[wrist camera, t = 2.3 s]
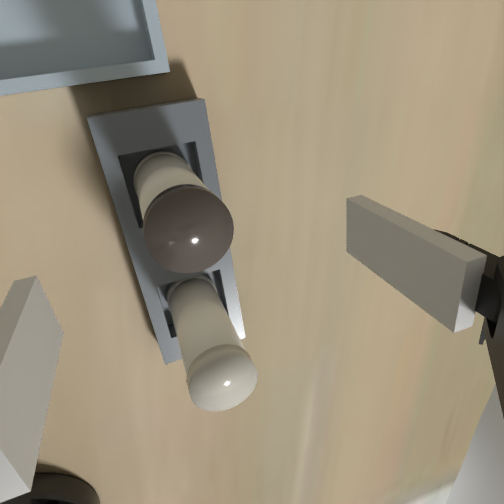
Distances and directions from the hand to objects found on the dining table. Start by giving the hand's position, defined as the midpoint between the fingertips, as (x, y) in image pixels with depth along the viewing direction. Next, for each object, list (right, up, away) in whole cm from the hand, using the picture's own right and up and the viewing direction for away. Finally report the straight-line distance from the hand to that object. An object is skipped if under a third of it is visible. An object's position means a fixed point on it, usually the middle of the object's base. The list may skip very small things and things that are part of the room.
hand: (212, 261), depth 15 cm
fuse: (-4, -3, +19) cm, 19 cm away
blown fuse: (-5, +6, +14) cm, 16 cm away
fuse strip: (-5, +2, +17) cm, 17 cm away
